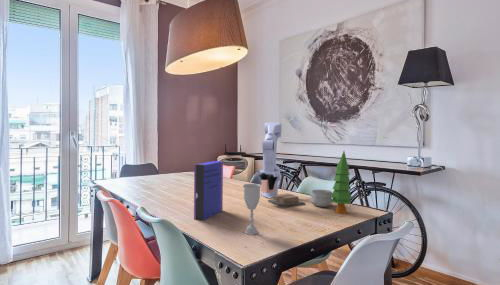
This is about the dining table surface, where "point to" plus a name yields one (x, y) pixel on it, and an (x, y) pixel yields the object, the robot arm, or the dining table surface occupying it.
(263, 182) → the coral block
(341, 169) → the decorative tree
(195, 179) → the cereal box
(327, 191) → the teacup
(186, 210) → the dining table surface
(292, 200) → the base
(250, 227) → the chalice
